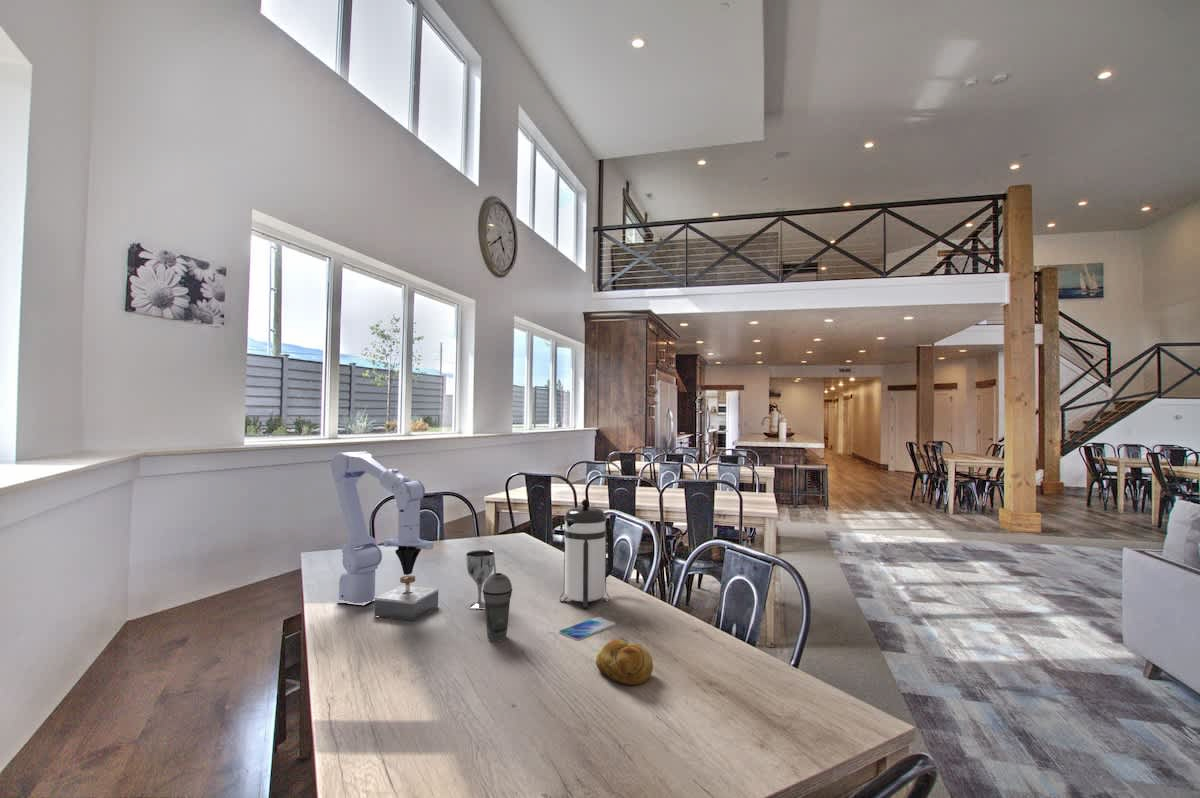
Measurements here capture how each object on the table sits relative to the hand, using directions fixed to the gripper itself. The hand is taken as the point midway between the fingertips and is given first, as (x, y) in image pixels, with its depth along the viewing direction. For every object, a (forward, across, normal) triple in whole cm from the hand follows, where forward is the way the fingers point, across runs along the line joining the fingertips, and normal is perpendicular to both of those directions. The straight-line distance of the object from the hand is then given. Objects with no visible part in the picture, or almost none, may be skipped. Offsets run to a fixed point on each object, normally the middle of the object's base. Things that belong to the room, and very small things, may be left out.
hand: (407, 573), depth 155 cm
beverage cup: (+11, -32, +10) cm, 35 cm away
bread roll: (+11, -66, +21) cm, 70 cm away
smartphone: (+11, -52, -2) cm, 53 cm away
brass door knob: (+7, 0, 0) cm, 7 cm away
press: (+10, 0, -1) cm, 10 cm away
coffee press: (+11, -45, -24) cm, 52 cm away
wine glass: (+11, -17, -10) cm, 22 cm away
